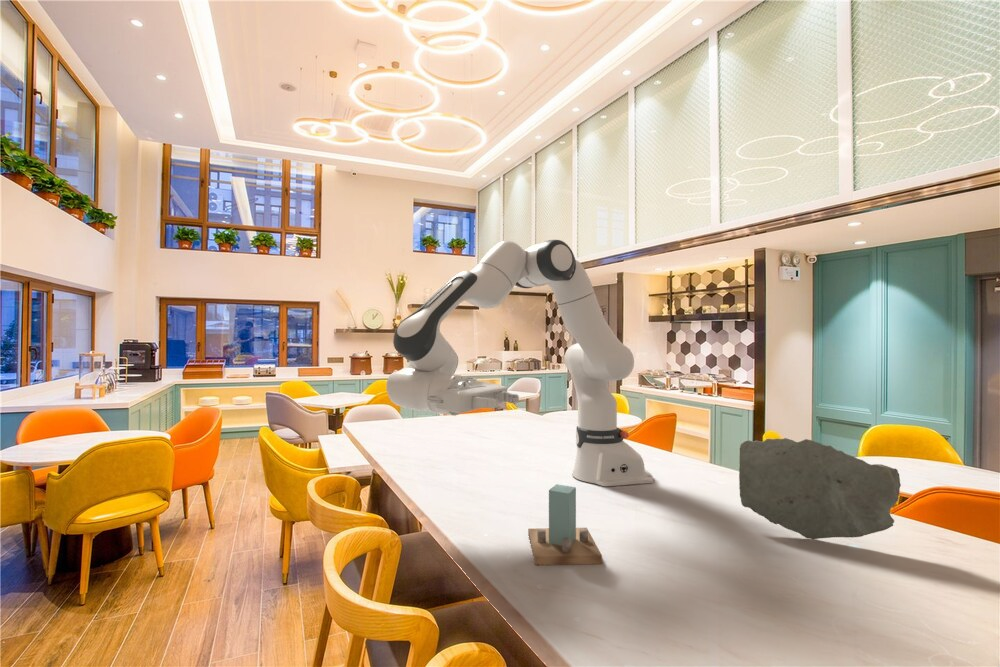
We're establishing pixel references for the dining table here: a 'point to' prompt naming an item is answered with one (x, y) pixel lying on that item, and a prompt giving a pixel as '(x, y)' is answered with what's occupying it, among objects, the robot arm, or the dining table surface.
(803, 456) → the rock
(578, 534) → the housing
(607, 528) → the dining table surface
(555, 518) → the block
